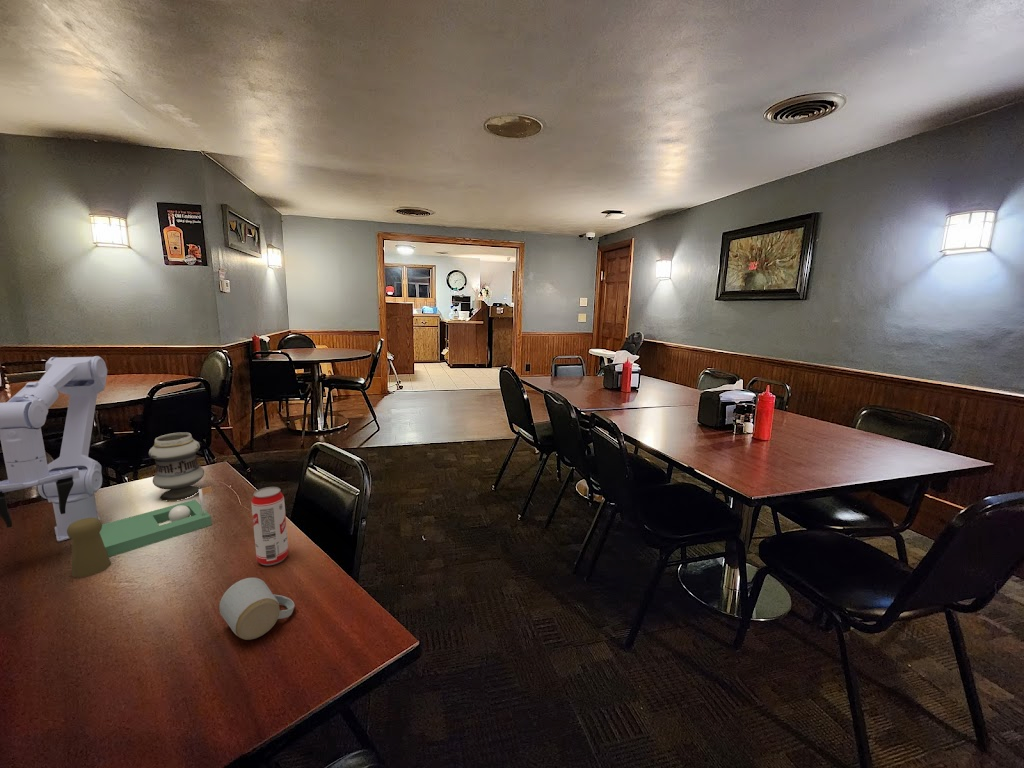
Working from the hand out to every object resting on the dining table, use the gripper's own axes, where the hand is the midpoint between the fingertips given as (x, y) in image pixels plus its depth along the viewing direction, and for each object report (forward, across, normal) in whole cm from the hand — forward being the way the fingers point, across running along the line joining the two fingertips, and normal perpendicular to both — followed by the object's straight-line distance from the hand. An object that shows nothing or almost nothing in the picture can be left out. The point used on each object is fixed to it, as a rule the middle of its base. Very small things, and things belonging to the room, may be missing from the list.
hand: (37, 518), depth 92 cm
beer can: (+10, +33, -36) cm, 50 cm away
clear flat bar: (+7, +29, -7) cm, 30 cm away
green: (+10, +18, -1) cm, 21 cm away
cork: (+10, +6, -11) cm, 16 cm away
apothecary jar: (+10, +29, +19) cm, 36 cm away
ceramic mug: (+11, +23, -55) cm, 61 cm away
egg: (+8, +24, -1) cm, 25 cm away
